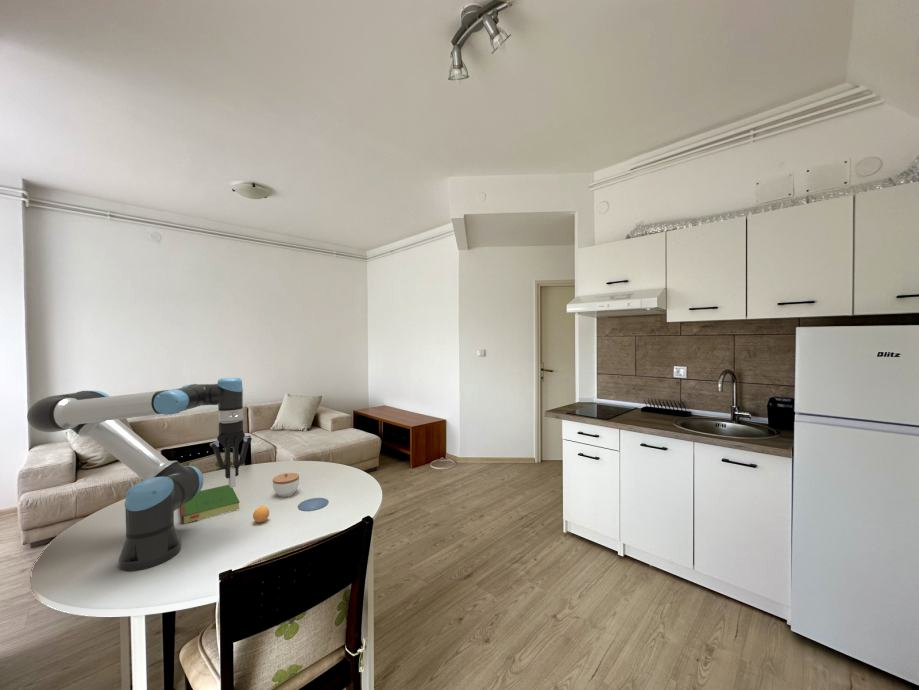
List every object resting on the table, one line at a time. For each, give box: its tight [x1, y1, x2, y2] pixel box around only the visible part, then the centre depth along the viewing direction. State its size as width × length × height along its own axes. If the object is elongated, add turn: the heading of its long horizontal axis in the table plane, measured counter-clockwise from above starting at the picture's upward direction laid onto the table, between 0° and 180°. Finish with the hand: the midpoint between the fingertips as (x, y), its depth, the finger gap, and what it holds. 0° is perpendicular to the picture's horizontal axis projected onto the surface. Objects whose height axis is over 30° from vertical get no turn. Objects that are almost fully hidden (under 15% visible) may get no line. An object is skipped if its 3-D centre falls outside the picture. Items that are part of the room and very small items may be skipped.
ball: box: [252, 505, 270, 523], centre depth 138 cm, size 6×6×6 cm
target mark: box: [297, 497, 330, 512], centre depth 153 cm, size 12×12×1 cm
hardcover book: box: [179, 484, 240, 525], centre depth 152 cm, size 25×19×4 cm
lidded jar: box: [272, 472, 300, 498], centre depth 163 cm, size 11×11×9 cm
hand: (232, 486), depth 131 cm, fingers closed
